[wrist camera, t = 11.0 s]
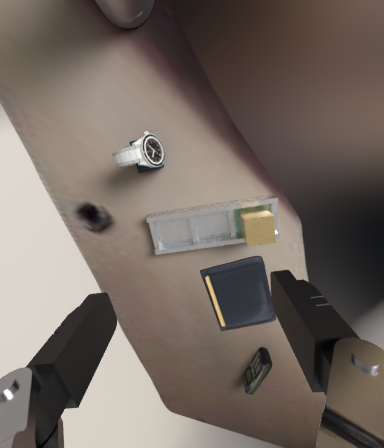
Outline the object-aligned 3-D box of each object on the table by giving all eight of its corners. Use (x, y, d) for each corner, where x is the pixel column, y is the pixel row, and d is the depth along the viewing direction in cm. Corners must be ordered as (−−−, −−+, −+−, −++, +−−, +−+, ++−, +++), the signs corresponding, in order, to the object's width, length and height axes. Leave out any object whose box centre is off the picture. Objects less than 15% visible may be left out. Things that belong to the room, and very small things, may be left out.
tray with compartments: (149, 214, 43) (146, 218, 40) (272, 194, 41) (277, 197, 38) (158, 248, 46) (155, 254, 43) (274, 232, 43) (279, 237, 40)
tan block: (237, 209, 41) (244, 220, 34) (262, 205, 40) (274, 215, 34) (239, 232, 42) (247, 246, 36) (263, 228, 42) (275, 242, 35)
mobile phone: (264, 362, 50) (242, 400, 55) (275, 364, 50) (252, 402, 55) (258, 344, 55) (239, 381, 59) (269, 347, 55) (248, 383, 60)
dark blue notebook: (278, 325, 50) (219, 335, 52) (275, 319, 52) (218, 329, 54) (265, 256, 44) (199, 271, 46) (263, 252, 46) (199, 267, 48)
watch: (173, 164, 39) (164, 167, 29) (135, 173, 40) (113, 180, 30) (165, 134, 38) (152, 126, 27) (126, 144, 39) (99, 141, 28)
